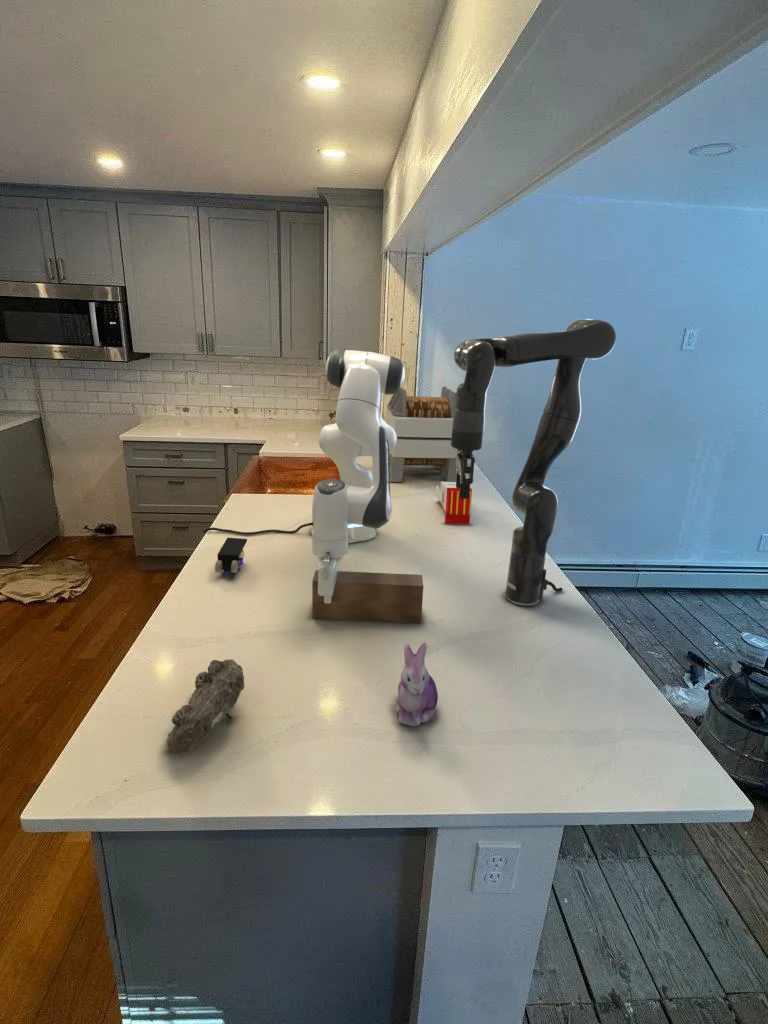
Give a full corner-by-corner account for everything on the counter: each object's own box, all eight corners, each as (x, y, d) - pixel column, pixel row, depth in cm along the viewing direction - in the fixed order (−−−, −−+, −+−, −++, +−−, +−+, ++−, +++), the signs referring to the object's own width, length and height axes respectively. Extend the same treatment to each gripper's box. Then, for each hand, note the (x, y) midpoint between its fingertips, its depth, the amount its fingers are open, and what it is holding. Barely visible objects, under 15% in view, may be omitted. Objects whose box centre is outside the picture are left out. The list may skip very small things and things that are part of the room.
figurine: (408, 735, 105) (412, 667, 100) (382, 702, 114) (386, 638, 109) (450, 721, 110) (457, 654, 105) (423, 690, 118) (428, 627, 113)
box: (312, 618, 144) (312, 580, 140) (315, 606, 150) (315, 569, 146) (420, 622, 144) (423, 585, 140) (419, 610, 150) (422, 574, 146)
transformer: (382, 463, 289) (386, 382, 275) (445, 464, 293) (451, 384, 279) (390, 482, 257) (394, 392, 243) (460, 483, 261) (468, 394, 247)
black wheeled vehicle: (238, 584, 162) (249, 557, 175) (236, 562, 158) (247, 536, 172) (215, 584, 161) (227, 556, 175) (212, 561, 158) (225, 535, 171)
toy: (463, 477, 236) (476, 489, 206) (461, 509, 239) (474, 525, 209) (433, 476, 235) (443, 488, 206) (432, 508, 238) (441, 524, 209)
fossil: (192, 660, 117) (244, 628, 112) (224, 691, 120) (276, 661, 115) (142, 746, 98) (202, 712, 93) (182, 779, 101) (242, 748, 96)
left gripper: (338, 563, 130) (338, 616, 135) (346, 530, 150) (345, 577, 154) (311, 562, 131) (311, 615, 135) (322, 529, 150) (321, 576, 154)
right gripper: (488, 435, 128) (481, 503, 133) (479, 423, 141) (473, 485, 147) (455, 433, 128) (449, 501, 133) (449, 421, 141) (444, 483, 147)
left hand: (329, 594), depth 145 cm, fingers closed on box, 6 cm apart
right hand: (462, 492), depth 140 cm, fingers open, 8 cm apart
